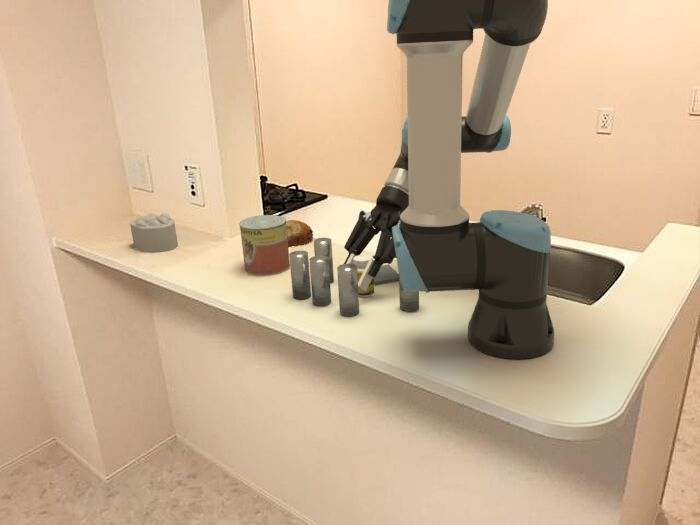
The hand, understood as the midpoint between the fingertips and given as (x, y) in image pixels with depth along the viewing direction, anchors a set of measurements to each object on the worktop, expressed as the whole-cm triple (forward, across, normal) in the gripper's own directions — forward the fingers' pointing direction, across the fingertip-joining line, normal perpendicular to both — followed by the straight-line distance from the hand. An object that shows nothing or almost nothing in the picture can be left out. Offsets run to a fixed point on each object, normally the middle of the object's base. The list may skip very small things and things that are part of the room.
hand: (351, 285), depth 128 cm
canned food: (+1, +30, -4) cm, 30 cm away
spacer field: (+2, +2, -3) cm, 4 cm away
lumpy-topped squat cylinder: (+7, +69, +2) cm, 69 cm away
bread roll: (-11, +40, -16) cm, 45 cm away
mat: (-7, +4, -12) cm, 14 cm away
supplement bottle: (0, 0, -5) cm, 5 cm away
